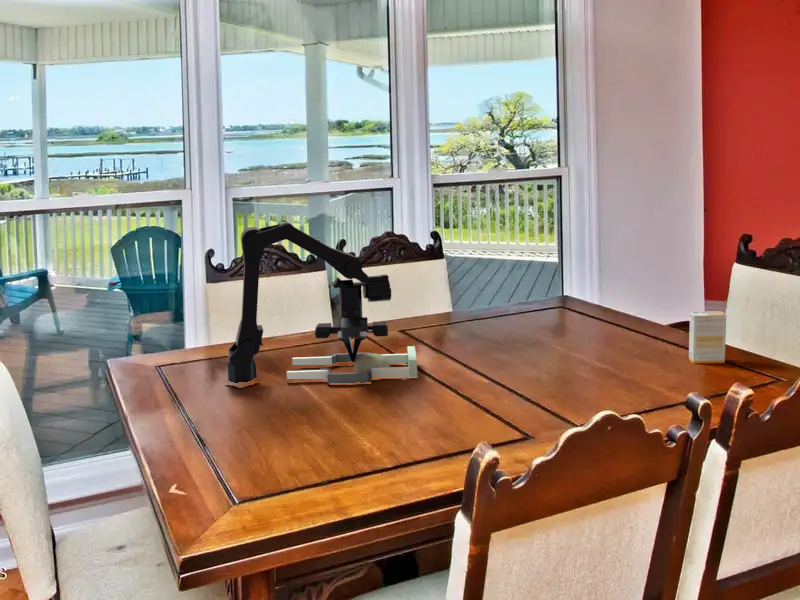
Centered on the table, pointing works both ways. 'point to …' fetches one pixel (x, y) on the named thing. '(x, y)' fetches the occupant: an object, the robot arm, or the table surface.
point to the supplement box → (707, 337)
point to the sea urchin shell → (371, 362)
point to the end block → (412, 361)
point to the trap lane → (349, 377)
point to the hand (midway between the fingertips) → (353, 361)
